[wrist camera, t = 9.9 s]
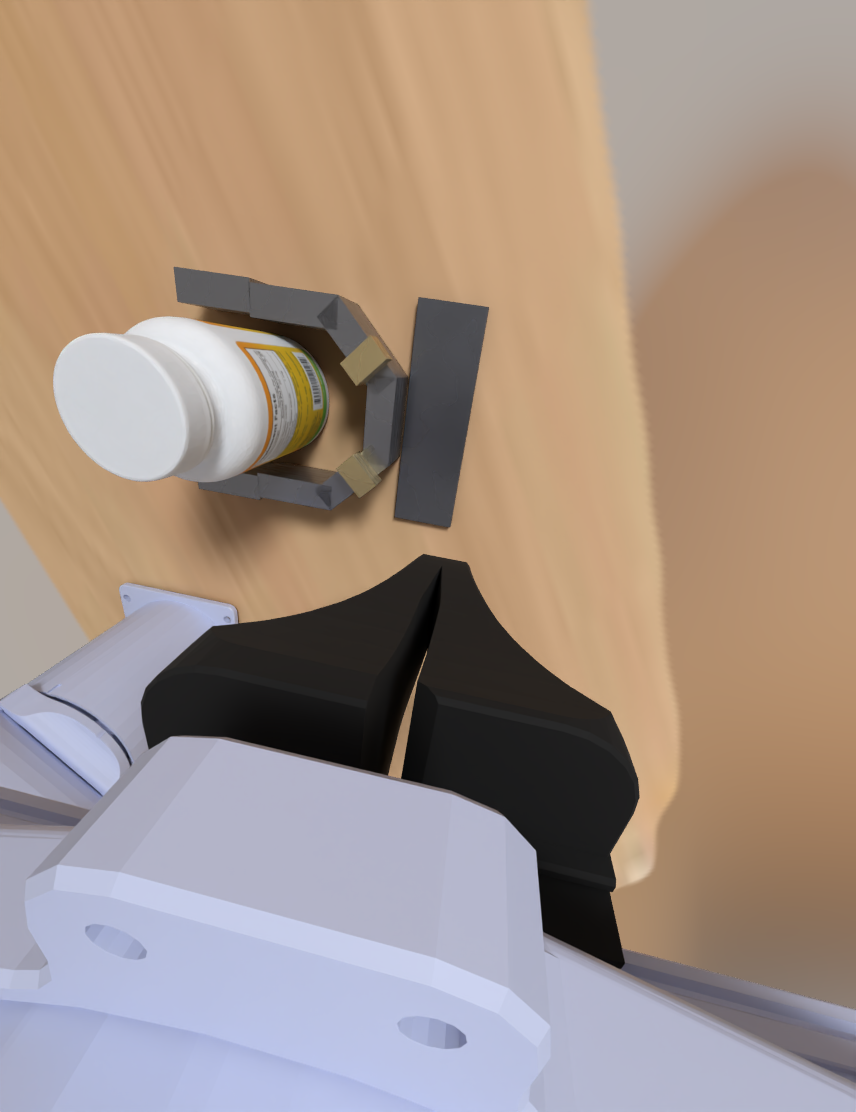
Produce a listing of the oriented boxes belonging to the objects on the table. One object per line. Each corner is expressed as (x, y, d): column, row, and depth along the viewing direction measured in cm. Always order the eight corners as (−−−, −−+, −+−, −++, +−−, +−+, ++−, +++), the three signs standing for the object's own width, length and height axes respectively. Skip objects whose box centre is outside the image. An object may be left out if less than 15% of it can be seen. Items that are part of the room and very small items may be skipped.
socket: (450, 524, 22) (443, 551, 18) (229, 483, 22) (186, 501, 19) (488, 308, 17) (487, 294, 14) (212, 269, 18) (153, 247, 15)
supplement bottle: (213, 410, 21) (14, 439, 12) (251, 308, 19) (39, 251, 10) (304, 470, 21) (178, 538, 13) (351, 378, 19) (236, 383, 10)
